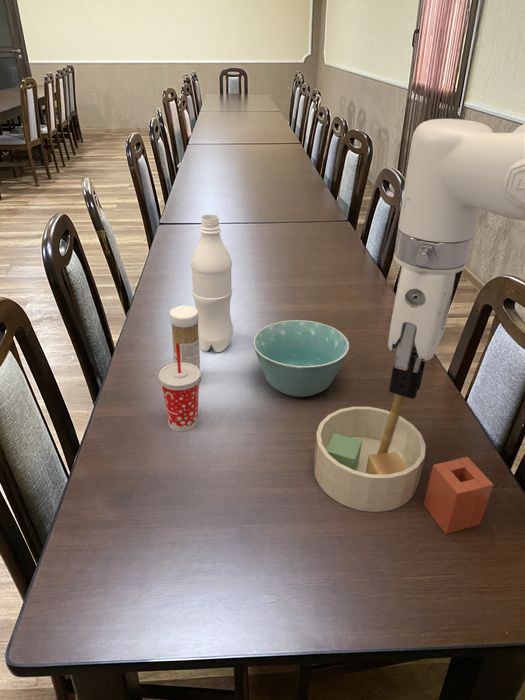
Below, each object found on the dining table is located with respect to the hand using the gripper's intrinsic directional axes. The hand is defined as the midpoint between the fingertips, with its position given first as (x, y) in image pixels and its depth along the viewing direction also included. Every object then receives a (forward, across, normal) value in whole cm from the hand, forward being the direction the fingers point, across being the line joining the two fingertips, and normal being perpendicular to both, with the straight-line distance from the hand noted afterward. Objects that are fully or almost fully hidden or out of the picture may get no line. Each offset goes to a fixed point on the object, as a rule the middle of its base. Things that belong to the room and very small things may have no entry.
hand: (404, 389), depth 66 cm
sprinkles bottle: (+15, +7, +37) cm, 41 cm away
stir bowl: (+15, 0, +3) cm, 15 cm away
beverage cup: (+15, -3, +31) cm, 35 cm away
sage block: (+14, -2, +6) cm, 15 cm away
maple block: (+14, -3, 0) cm, 14 cm away
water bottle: (+15, +19, +39) cm, 46 cm away
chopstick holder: (+15, -3, -9) cm, 18 cm away
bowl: (+15, +15, +20) cm, 29 cm away
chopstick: (+12, 0, +1) cm, 12 cm away
